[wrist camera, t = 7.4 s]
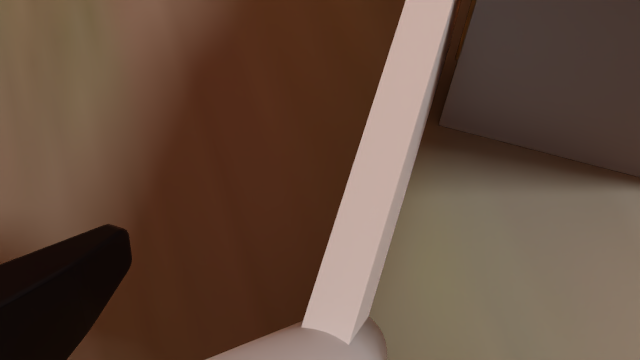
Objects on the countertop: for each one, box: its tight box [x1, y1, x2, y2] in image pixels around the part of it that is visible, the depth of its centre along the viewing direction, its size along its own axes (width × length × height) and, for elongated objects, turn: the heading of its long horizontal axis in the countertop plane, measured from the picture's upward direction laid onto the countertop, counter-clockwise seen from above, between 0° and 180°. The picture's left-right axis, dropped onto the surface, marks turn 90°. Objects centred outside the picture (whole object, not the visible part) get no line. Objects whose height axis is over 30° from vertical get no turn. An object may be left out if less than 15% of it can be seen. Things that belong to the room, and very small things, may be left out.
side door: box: [205, 0, 461, 360], centre depth 10 cm, size 12×3×11 cm, turn 162°
